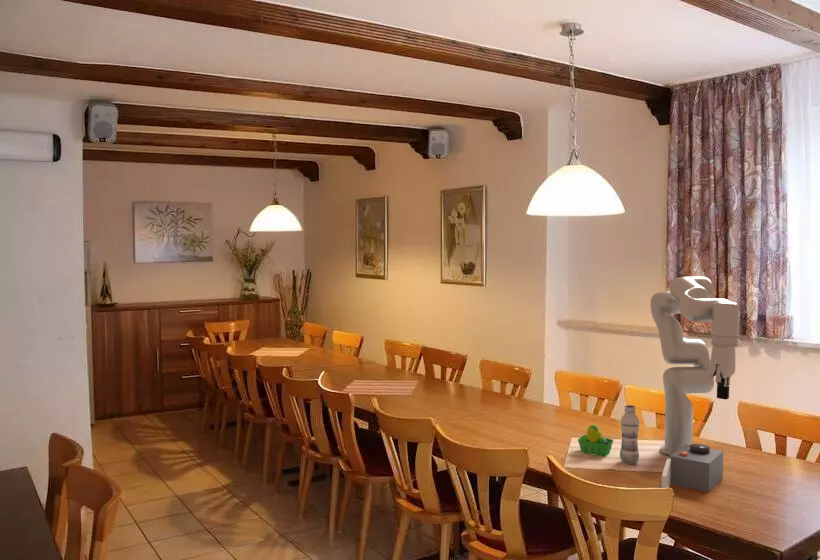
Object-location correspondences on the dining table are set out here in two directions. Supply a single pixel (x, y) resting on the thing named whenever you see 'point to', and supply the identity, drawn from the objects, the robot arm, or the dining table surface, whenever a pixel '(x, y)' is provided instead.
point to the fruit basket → (595, 442)
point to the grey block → (696, 467)
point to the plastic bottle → (629, 436)
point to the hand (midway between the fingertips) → (722, 398)
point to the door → (666, 475)
